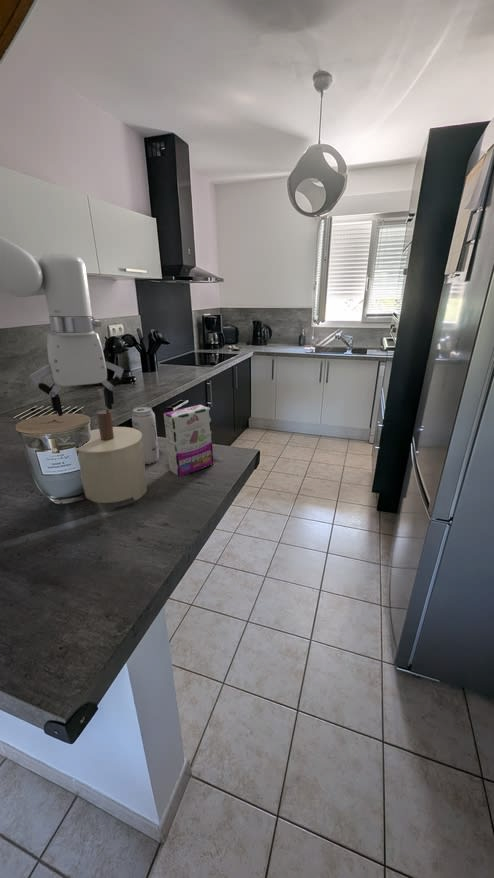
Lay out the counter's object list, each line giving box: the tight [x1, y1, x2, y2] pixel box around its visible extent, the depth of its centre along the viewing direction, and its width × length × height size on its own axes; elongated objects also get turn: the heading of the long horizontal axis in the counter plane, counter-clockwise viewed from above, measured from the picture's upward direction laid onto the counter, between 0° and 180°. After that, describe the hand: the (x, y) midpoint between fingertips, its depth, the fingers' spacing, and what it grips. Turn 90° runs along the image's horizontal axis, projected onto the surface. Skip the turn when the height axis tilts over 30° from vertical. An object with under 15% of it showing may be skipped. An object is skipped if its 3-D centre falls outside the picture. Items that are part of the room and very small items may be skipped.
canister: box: [78, 439, 148, 507], centre depth 81 cm, size 14×14×14 cm
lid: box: [75, 409, 142, 454], centre depth 77 cm, size 15×15×7 cm
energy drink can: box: [131, 406, 160, 465], centre depth 96 cm, size 6×6×15 cm
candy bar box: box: [163, 404, 214, 477], centre depth 92 cm, size 11×5×16 cm, turn 131°
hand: (85, 410), depth 75 cm, fingers open, 9 cm apart
